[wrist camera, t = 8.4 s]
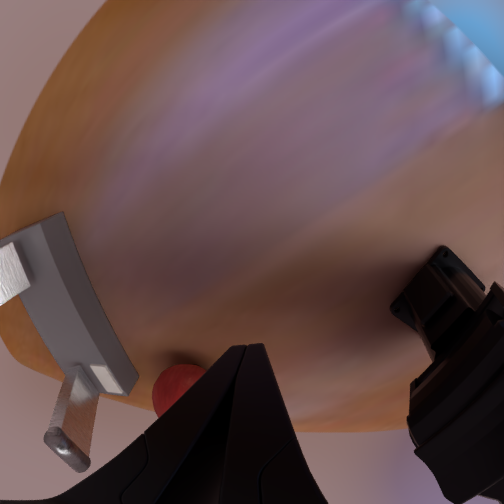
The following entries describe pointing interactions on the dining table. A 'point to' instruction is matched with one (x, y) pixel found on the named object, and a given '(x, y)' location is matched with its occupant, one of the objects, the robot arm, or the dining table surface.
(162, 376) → the onion
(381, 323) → the dining table surface
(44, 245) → the switch box
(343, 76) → the dining table surface
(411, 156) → the dining table surface
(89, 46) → the dining table surface
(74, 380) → the grey lever
